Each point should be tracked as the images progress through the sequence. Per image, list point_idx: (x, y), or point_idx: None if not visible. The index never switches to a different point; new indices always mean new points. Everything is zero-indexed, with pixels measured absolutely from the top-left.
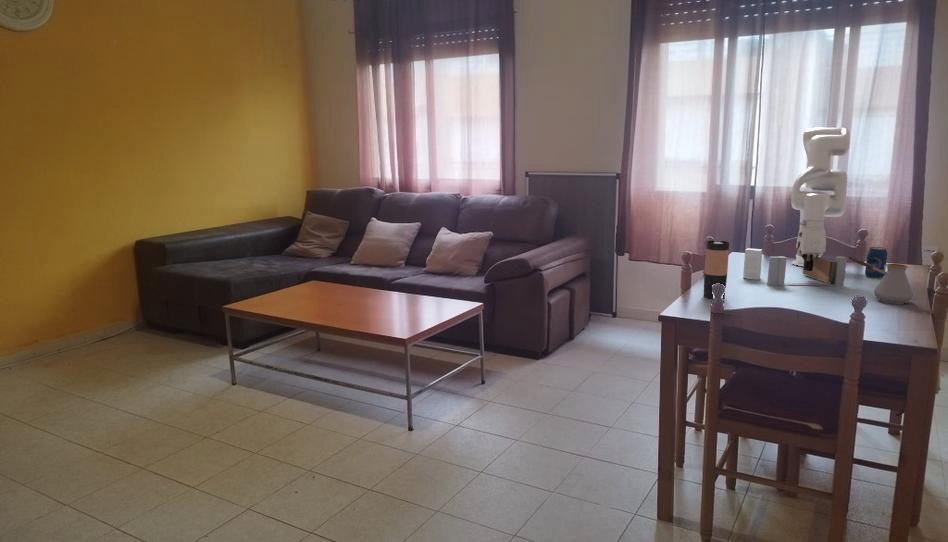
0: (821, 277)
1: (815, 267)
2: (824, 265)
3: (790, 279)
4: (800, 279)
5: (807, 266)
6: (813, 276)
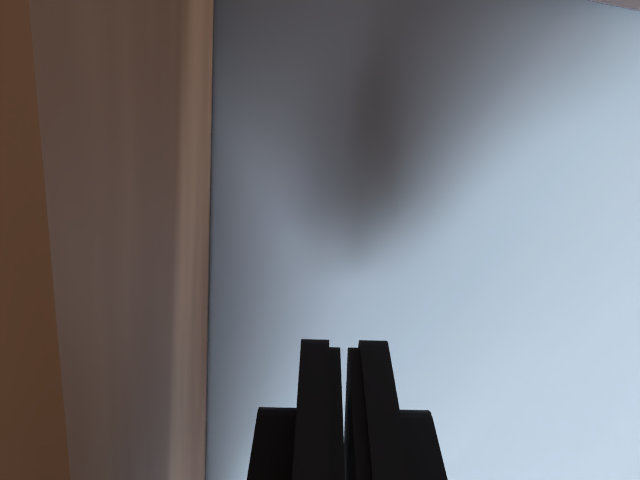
0: (200, 145)
1: (167, 438)
2: (125, 151)
3: (567, 363)
4: (419, 341)
5: (406, 433)
6: (205, 352)
